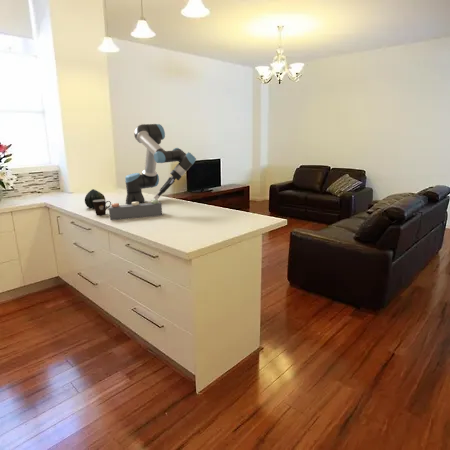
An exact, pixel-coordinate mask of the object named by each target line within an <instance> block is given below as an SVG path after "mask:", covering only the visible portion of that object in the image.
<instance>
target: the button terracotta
mask: <svg viewBox="0 0 450 450" xmlns="http://www.w3.org/2000/svg"><path fill="white" fill-rule="evenodd" d="M119 205H120V204H119V202H115V203H111V205H110V206H112V207H119Z"/></svg>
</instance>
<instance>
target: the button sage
mask: <svg viewBox="0 0 450 450" xmlns="http://www.w3.org/2000/svg"><path fill="white" fill-rule="evenodd" d="M159 202H160V201H159V199H158V200H156V199H153V200H151V202H150V203H152V204H158V203H159Z"/></svg>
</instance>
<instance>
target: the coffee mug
mask: <svg viewBox="0 0 450 450" xmlns="http://www.w3.org/2000/svg"><path fill="white" fill-rule="evenodd" d="M108 202H109V205H108V206H107V207H106V205H107V203H108ZM111 204H112V202H111V201H110V200H107V199H105V200H104V199H100V200H94V201H93V205H94V208H93V209H94V211H95V215H96V216H104V215H106V213H107V212H106V211H107V210H108V209H109V207H110V206H112V205H111Z"/></svg>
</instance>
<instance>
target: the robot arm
mask: <svg viewBox="0 0 450 450" xmlns="http://www.w3.org/2000/svg"><path fill="white" fill-rule="evenodd" d="M133 134H134V138H135V140H136V141H137V142H138V143H139V144H142V145H143V146H144V147H145V148H146V154H145V163H144V164H145V165H144V169H143V170H142V173H141V174H140V173H139V172H135V173H130V174H127V175H125V180H124V181H125V186H126V198H125V205H131V204H132V202H139V204H143V203H146V199H145V197H144V195H143V191H142V190H143V189H151V188H156V187H158V185H159V183H160V182H159V181H160V177H159V174H158V173H157V170H156V168H157V164H163V163H165V164H166V163H173V162H174V163H175V162H178V163H177V164H176V166H174V168H173V169H172V170H171V171H170V175H171V176H169V177H168V179H167V180H166V181H165V183H164V184H163V185H162V187H160V189H159V191H158V192H157V193H156V194H155V195H154V196H153V199H154V200H158V201H159V198H161V196H162V195H163V194H164V193H165V192H166V191H167V190H168V189H169V188H170V187H171V186H172V185H173V184H174V183H175V182H176V181H175V180H177V181H180V179H181V178H182V176H184V175H186V172H187V171H189V169H190V168H191V167H192V166H193V165H194V164H195V162H196V160H197V158H196V157H195V156H194V155H193V153H191V152H189V151H188V152H187V153H186V152H185V151H184V150H183V149H181V148H179V147H174V148H173V149H172V150H165V149H164V148H163V147H162V146H161V143H162V141H163V140H164V139H165V137H166V132H165V129H164V127H163V125H162V124H160V123H153V124H152V123H150V124H149V123H148V124H145V123H141V124H139V125H138V126H136V128H135V129H134V133H133Z"/></svg>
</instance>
